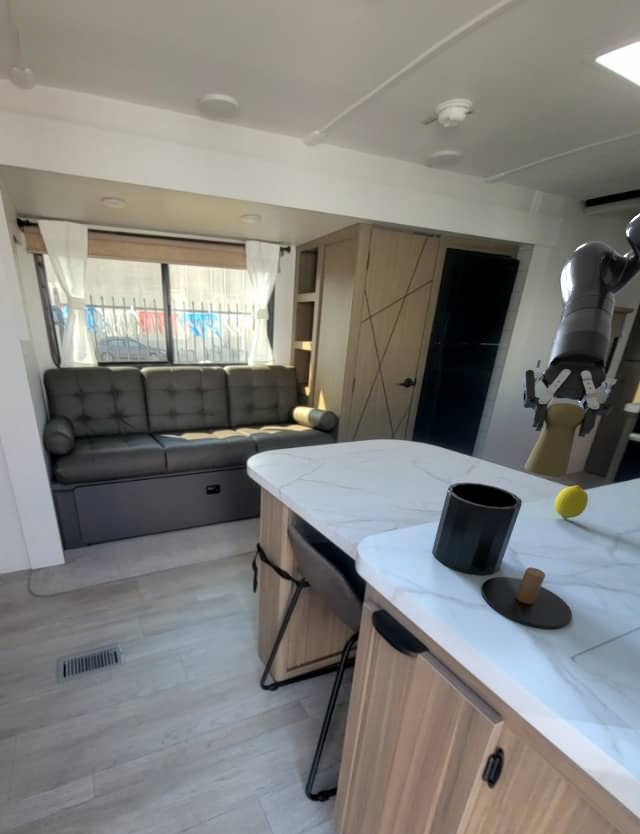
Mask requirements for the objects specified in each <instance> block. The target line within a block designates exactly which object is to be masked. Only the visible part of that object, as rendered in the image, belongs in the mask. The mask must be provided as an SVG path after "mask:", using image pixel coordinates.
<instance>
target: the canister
mask: <svg viewBox="0 0 640 834" xmlns="http://www.w3.org/2000/svg"><path fill="white" fill-rule="evenodd" d="M522 501H523V500H522V499H521V498H520V497H518V495H516V494H515V493H512V492H510V491H508V490H506V489H504V488H500V487H497V486H494V485H489V484H483V483H477V482H456V483H454V484H450V485H449V486H448V487H447V491H446V495H445V499H444V501H443V502H444V504H443V507H442V509H441V514H440V518H439V522H438V526H437V531H436V534H435V539H434V543H433V546H432V550H431V553H432V555H433V557H434V559H435V560H437V562H439V563H440V564H441V565H443V566H445V567H447V568H448V569H450V570H453V571H455V572H458V573H462V574H465V575H470V576H479V577H484V576H491V575H494V574H496V573H498V572H499V571H500V569H501V567H502V563H503V560H504V557H505V554H506V551H507V548H508V546H509V542H510V540H511V537H512V534H513V531H514V528H515V525H516V522H517V521H518V516H519V514H520V510H521V508H522V505H523V503H522Z"/></svg>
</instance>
